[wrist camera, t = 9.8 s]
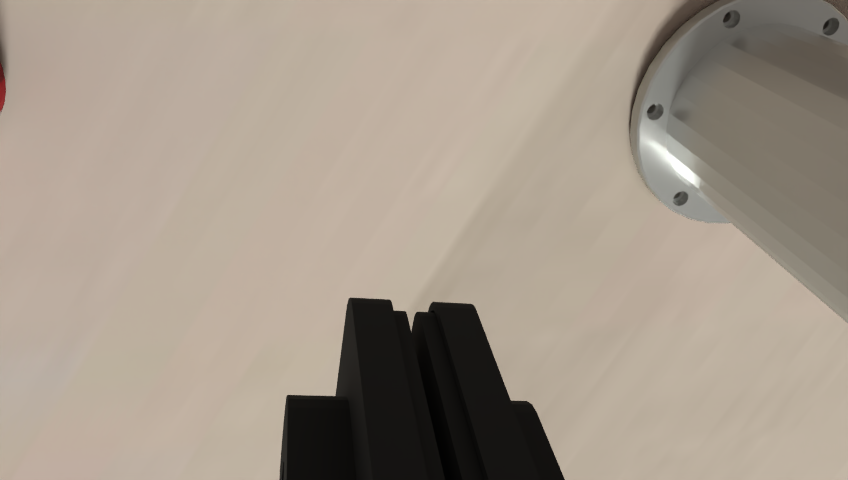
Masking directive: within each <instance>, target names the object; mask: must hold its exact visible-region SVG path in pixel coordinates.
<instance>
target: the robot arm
mask: <svg viewBox="0 0 848 480" xmlns="http://www.w3.org/2000/svg"><path fill="white" fill-rule="evenodd" d="M725 14H726V16H725ZM724 16H725V18H724ZM723 18H724V19H723ZM651 105H652V106H651ZM650 106H651V108H650V109H649V107H650ZM648 109H649V110H648ZM630 139H631V149H632V155H633V159H634V162H635V165H636V168H637V171H638V173H639V175H640V176H641V178H642V180H643V181H644V183H645V185H646V186H647V188H648V189H649V190H650V191H651V192H652V193H653V194H654V195H655V196H656V197H657V198H658V199H659V201H661V202H662V203H663V204H664V205H665V206H667V207H668V208H669V209H670V210H672V211H673V212H675V213H677V214H680V215H682V216H684V217H686V218H688V219H691V220H696V221H700V222H705V223H732V224H733V225H734V226H735V227H736V228H738V229H739V230H740V231H741V232H742V233H743V234H745V235H746V236H747V237H748V238H749V239H750V240H752V241H753V242H754V243H755V244H756V245H757V246H758V247H760V248H761V249H762V250H763V251H764V252H765V253H767V254H768V255H769V256H770V257H771V258H772V259H774V260H775V261H776V262H777V263H778V264H779V265H780V266H782V267H783V268H784V269H785V270H786V271H787V272H789V273H790V274H791V275H792V276H793V277H794V278H796V279H797V280H798V281H799V282H800V283H801V284H803V285H804V286H805V287H806V288H807V289H808V290H809V291H811V292H812V293H813V294H814V295H815V296H816V297H818V298H819V299H820V300H821V301H822V302H823V303H825V304H826V305H827V306H828V307H829V308H830V309H832V310H833V311H834V312H835V313H836V314H837V315H838V316H840V317H841V318H842V319H843V320H844V321H845V322H847V323H848V20H847V19H846V17H845V16H844V15H843V14H842V13H841V12H839V11H838V10H837V9H836V8H835V7H834V6H833V5H831V4H830V3H828V2H826V1H824V0H719V1H717V2H716V3H714V4H712V5H710V6H708V7H706V8H705V9H703V10H701V11H700V12H699V13H697V14H696V15H695V16H694V17H692V18H691V19H690V20H688V21H687V22H686V23H685V24H683V25H682V26H681V27H680V28H679V29H678V30H677V31H676V32H675V33H674V34H673V35H672V37H671V38H670V39H669V40H668V41H667V42H666V43H665V44H664V45H663V47H662V48H661V49H660V51H659V52H658V54H657V55H656V57H655V58H654V60H653V61H652V63H651V64H650V66H649V67H648V70H647V72H646V74H645V76H644V78H643V80H642V82H641V84H640V86H639V89H638V92H637V96H636V99H635V103H634V106H633V110H632V117H631V127H630ZM280 480H565V479H564V477H563V475H562V472H561V470H560V467H559V465H558V463H557V460H556V458H555V455H554V453H553V451H552V448H551V446H550V443H549V441H548V439H547V436H546V434H545V431H544V429H543V427H542V424H541V422H540V419H539V417H538V415H537V412H536V411H535V409H534V407H533V405H532V404H530V403H529V402H527V401H511V400H510V398H509V395H508V393H507V390H506V387H505V385H504V382H503V379H502V377H501V374H500V371H499V369H498V366H497V364H496V361H495V358H494V356H493V353H492V350H491V348H490V345H489V343H488V340H487V337H486V335H485V332H484V329H483V327H482V324H481V321H480V319H479V316H478V314H477V311H476V308H475V307H474V305H472V304H463V303H443V302H432V303H431V305H430V307H429V310H428V312H417V313H416V314H415V317H414V321H413V326H412V332H411V330H410V326H409V321H408V317H407V314H406V312H405V311H393V306H392V302H391V300H385V299H366V298H349V300H348V304H347V311H346V318H345V326H344V334H343V342H342V350H341V358H340V366H339V373H338V381H337V389H336V396H303V395H287V398H286V405H285V416H284V427H283V438H282V450H281V465H280Z"/></svg>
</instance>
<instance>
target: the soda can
mask: <svg viewBox="0 0 848 480" xmlns="http://www.w3.org/2000/svg"><path fill="white" fill-rule="evenodd" d="M5 94H6V86H5V77H4V73H3V68H2V66H1V63H0V114H1V111H2V108H3V105H4V102H5Z"/></svg>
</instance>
